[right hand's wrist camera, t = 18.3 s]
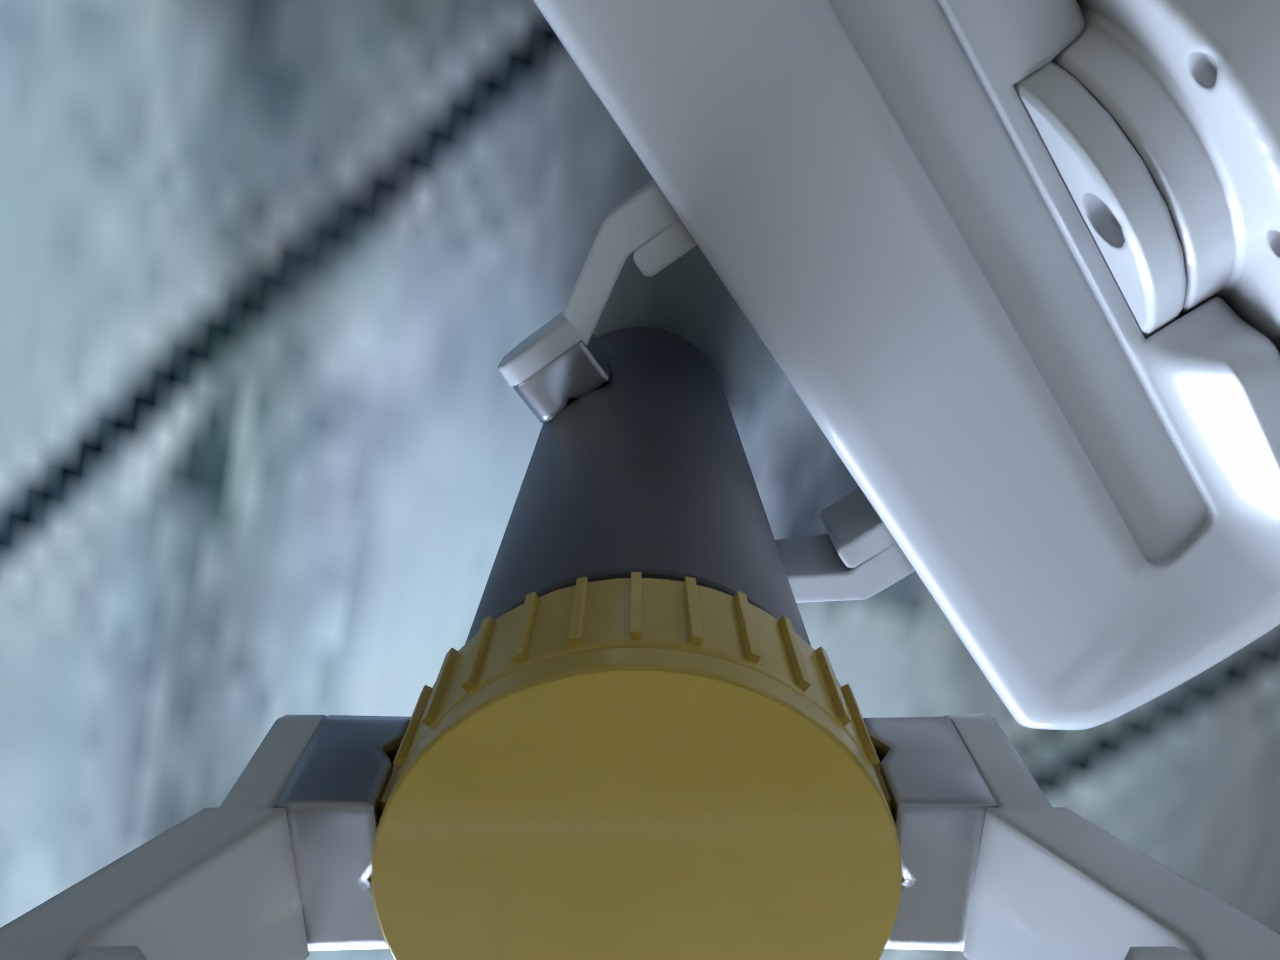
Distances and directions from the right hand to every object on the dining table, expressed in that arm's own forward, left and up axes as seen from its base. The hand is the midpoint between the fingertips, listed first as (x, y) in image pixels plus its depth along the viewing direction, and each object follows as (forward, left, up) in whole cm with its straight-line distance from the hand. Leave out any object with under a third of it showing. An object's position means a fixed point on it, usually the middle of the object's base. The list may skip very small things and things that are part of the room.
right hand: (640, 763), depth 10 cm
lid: (0, 0, +2) cm, 2 cm away
